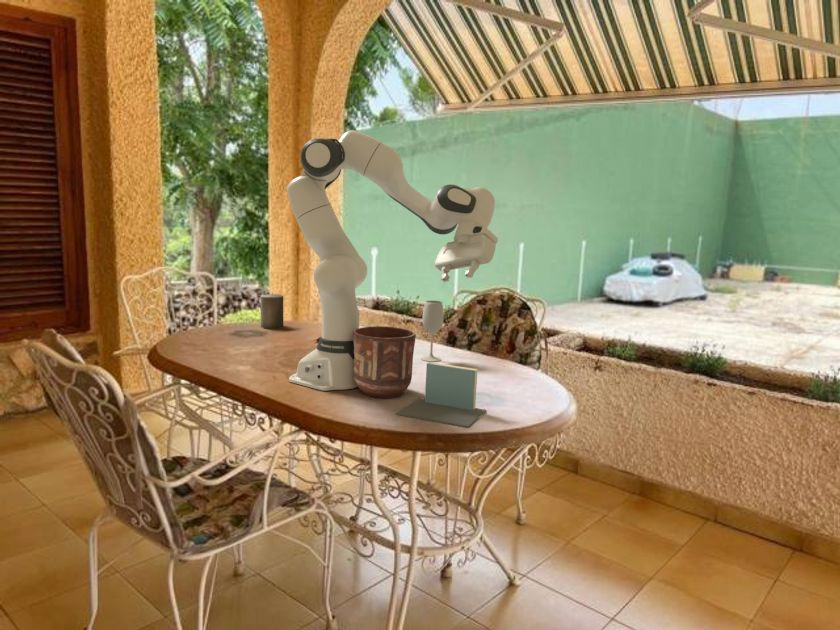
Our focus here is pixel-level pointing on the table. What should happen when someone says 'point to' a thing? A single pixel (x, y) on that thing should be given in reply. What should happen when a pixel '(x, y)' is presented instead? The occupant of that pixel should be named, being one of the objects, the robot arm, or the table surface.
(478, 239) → the robot arm
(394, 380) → the pottery
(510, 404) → the table surface
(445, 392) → the tile
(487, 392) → the table surface
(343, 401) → the table surface
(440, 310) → the wineglass
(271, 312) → the pillar candle
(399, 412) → the mat
